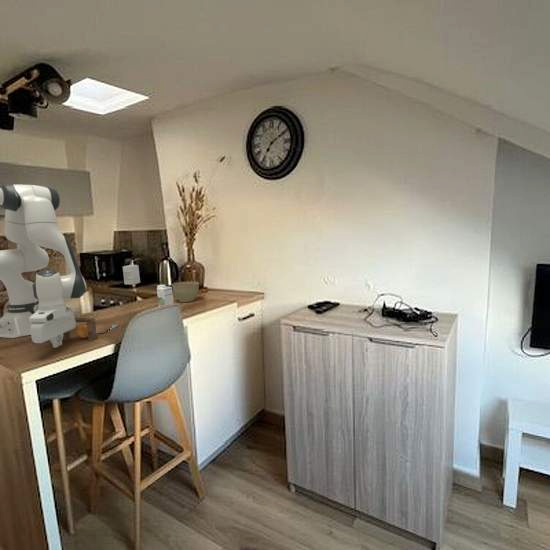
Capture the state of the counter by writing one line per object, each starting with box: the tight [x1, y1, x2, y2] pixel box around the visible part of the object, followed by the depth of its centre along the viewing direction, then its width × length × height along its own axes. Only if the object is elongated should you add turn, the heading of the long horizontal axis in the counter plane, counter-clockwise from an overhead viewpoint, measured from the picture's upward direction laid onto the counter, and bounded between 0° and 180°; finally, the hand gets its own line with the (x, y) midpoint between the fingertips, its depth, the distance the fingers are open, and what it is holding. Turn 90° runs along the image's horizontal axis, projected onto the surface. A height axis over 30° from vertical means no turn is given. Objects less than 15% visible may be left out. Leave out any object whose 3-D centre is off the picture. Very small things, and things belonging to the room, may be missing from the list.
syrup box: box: [156, 285, 174, 308], centre depth 192 cm, size 6×6×14 cm
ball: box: [76, 324, 88, 339], centre depth 157 cm, size 6×6×6 cm
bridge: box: [62, 316, 98, 341], centre depth 155 cm, size 3×14×9 cm, turn 84°
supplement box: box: [122, 264, 141, 286], centre depth 297 cm, size 9×9×15 cm
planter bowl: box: [171, 281, 200, 303], centre depth 223 cm, size 16×16×11 cm
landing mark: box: [108, 324, 119, 332], centre depth 169 cm, size 13×13×1 cm
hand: (57, 346), depth 142 cm, fingers closed
